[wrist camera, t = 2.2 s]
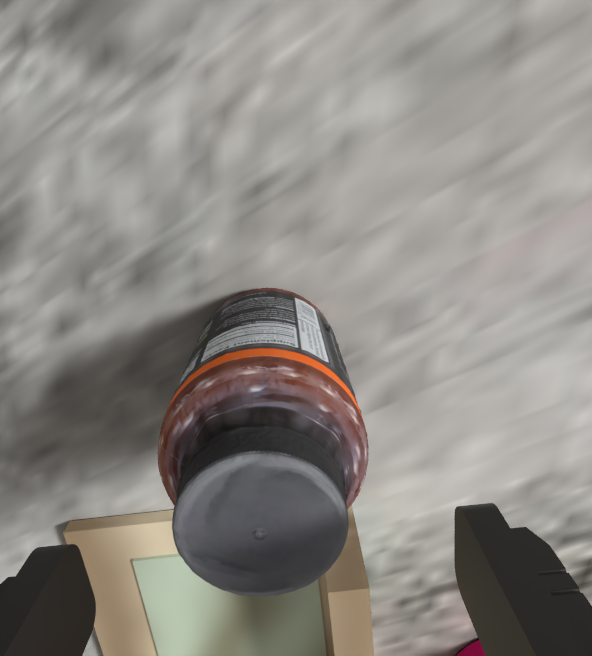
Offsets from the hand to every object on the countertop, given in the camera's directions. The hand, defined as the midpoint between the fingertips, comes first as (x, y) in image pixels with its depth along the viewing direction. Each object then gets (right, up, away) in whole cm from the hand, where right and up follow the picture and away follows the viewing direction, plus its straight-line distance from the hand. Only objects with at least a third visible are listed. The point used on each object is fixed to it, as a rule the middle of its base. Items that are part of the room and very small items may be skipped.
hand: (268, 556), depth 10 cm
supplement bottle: (-1, +4, +11) cm, 12 cm away
